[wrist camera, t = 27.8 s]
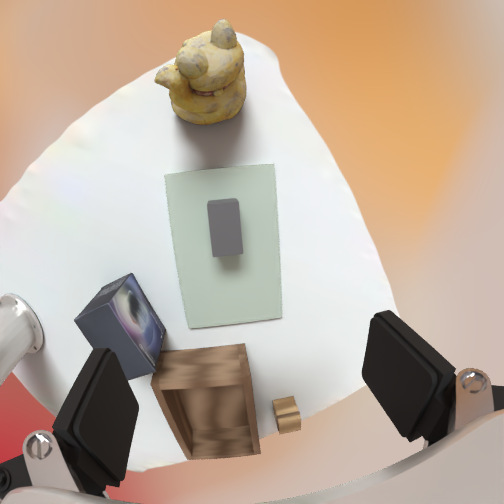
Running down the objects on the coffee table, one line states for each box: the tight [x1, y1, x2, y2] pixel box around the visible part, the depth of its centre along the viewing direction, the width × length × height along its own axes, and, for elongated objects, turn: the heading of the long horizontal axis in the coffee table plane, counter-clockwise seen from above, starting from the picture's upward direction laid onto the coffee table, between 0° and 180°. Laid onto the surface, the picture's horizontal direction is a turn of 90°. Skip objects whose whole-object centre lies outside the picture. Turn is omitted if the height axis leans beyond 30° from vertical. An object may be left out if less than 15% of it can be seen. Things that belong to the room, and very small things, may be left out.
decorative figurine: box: [155, 19, 246, 125], centre depth 24 cm, size 10×8×15 cm
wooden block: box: [273, 396, 301, 434], centre depth 44 cm, size 4×4×6 cm
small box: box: [74, 273, 166, 381], centre depth 32 cm, size 11×6×10 cm, turn 23°
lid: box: [165, 164, 282, 328], centre depth 34 cm, size 14×22×6 cm, turn 4°
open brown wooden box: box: [151, 343, 261, 460], centre depth 40 cm, size 14×22×8 cm, turn 4°
